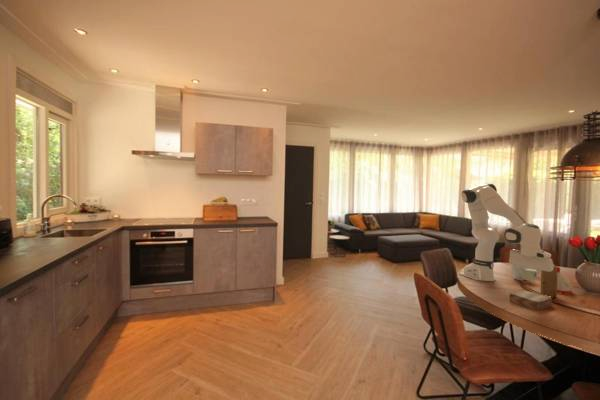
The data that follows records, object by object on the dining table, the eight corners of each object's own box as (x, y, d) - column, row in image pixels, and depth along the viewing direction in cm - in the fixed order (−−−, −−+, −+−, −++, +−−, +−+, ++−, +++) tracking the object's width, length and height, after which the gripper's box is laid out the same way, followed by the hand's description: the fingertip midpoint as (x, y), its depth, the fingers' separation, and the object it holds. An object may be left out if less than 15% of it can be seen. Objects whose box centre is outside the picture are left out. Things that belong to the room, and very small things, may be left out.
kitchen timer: (574, 291, 178) (575, 268, 178) (566, 295, 172) (567, 271, 171) (547, 284, 190) (547, 263, 190) (538, 288, 184) (539, 266, 183)
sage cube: (522, 278, 160) (522, 270, 160) (526, 277, 162) (526, 268, 162) (532, 280, 155) (533, 272, 155) (537, 279, 158) (537, 270, 158)
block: (557, 299, 164) (558, 267, 163) (540, 296, 169) (541, 265, 168) (555, 294, 173) (556, 263, 172) (539, 291, 177) (540, 261, 176)
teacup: (520, 275, 210) (520, 262, 210) (534, 282, 195) (535, 268, 195) (503, 275, 211) (503, 262, 211) (516, 281, 196) (517, 268, 196)
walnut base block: (509, 301, 163) (509, 293, 163) (523, 297, 169) (523, 289, 168) (537, 311, 150) (538, 302, 150) (551, 306, 156) (551, 298, 155)
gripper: (507, 249, 166) (506, 271, 166) (549, 256, 148) (549, 281, 148) (512, 247, 169) (512, 269, 169) (555, 254, 151) (554, 279, 151)
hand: (529, 275), depth 159 cm, fingers closed on sage cube, 5 cm apart
